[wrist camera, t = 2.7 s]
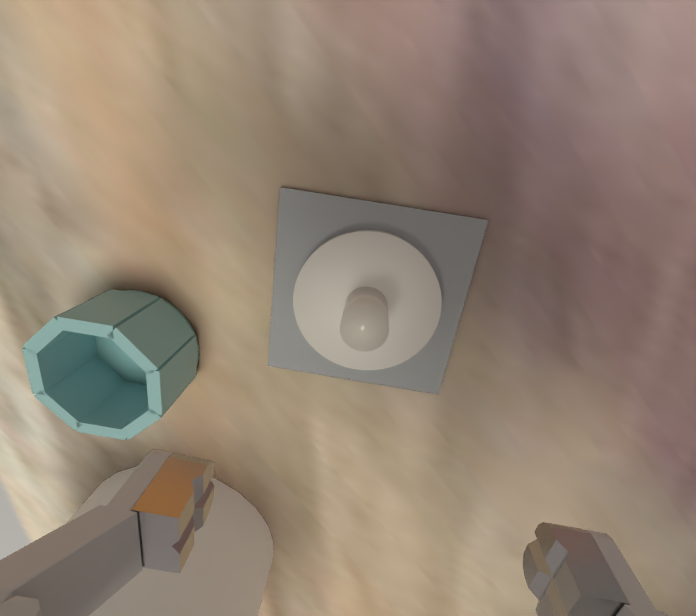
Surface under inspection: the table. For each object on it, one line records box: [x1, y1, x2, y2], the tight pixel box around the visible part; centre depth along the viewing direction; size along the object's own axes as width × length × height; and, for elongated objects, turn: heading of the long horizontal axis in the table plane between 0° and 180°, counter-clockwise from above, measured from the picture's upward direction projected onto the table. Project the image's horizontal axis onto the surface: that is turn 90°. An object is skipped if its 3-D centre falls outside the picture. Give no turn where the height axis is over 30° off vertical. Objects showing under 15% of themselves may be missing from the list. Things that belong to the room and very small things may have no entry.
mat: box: [268, 187, 488, 394], centre depth 23 cm, size 12×12×1 cm
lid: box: [293, 229, 442, 370], centre depth 21 cm, size 9×9×4 cm
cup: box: [22, 289, 200, 440], centre depth 24 cm, size 8×8×5 cm
